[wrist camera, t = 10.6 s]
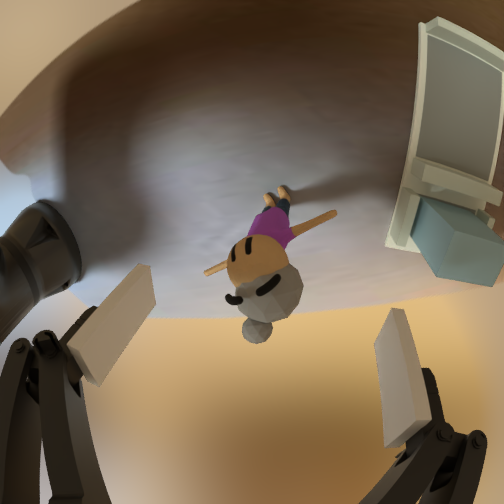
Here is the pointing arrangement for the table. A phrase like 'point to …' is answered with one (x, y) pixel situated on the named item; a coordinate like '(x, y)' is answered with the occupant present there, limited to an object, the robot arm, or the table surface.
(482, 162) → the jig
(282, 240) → the toy
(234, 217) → the table surface
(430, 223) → the grey-blue block
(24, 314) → the robot arm
